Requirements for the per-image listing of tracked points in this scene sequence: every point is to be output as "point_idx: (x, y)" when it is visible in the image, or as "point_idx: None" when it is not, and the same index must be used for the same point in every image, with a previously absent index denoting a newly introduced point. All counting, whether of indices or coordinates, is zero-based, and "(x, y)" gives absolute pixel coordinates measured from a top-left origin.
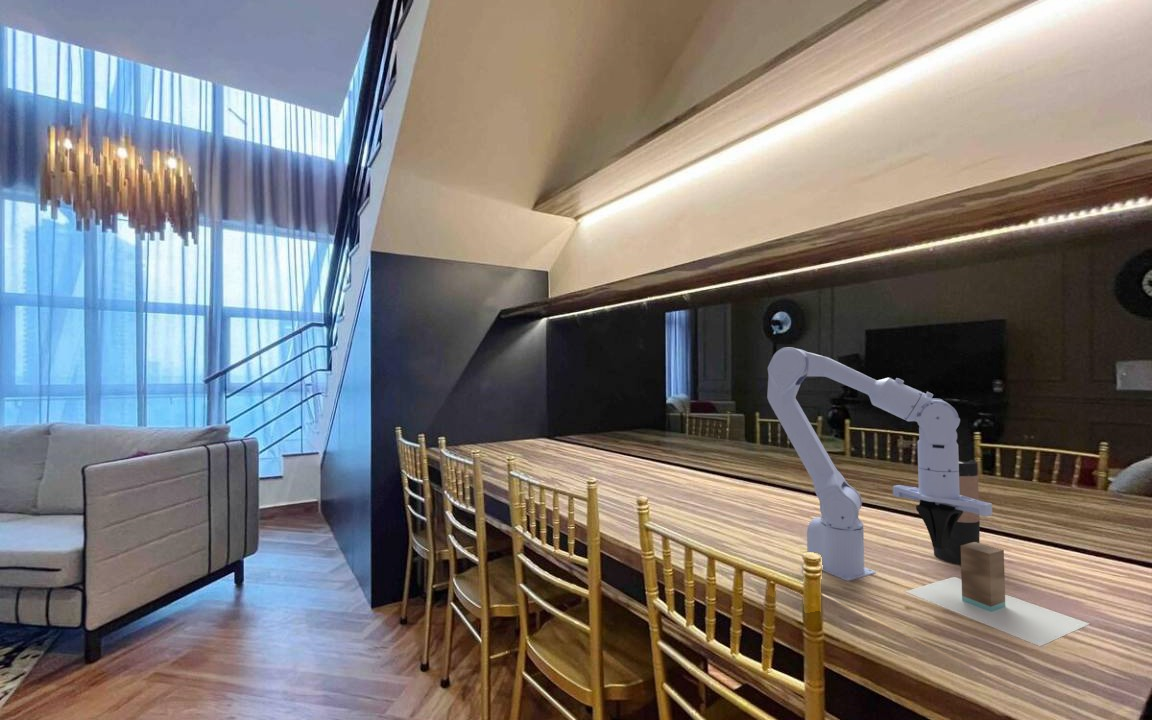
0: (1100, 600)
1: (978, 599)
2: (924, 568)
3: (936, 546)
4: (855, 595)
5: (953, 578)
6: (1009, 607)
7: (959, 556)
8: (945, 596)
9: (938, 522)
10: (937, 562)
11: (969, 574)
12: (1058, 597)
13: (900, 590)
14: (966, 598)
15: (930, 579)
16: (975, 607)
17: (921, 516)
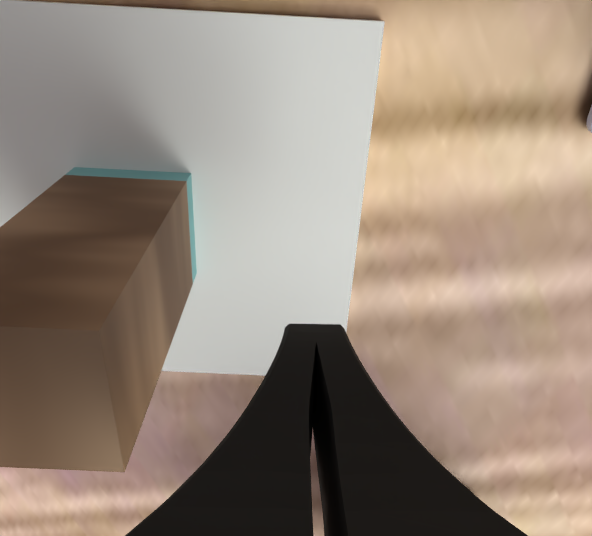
0: (56, 531)
1: (110, 180)
2: (455, 380)
3: (317, 329)
4: None
5: None
6: None
7: None
8: (250, 153)
9: (265, 467)
10: (447, 461)
11: (112, 230)
12: (105, 477)
13: (417, 47)
14: (168, 179)
15: (391, 298)
16: (125, 152)
17: (457, 486)
